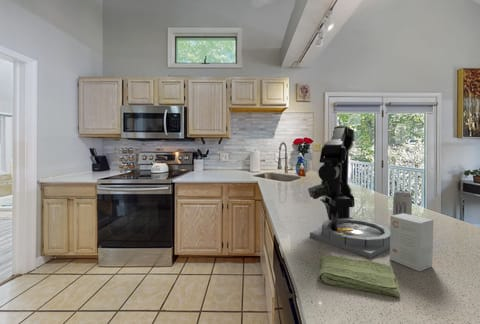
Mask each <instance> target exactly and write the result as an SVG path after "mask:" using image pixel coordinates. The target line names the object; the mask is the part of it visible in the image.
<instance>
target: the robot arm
mask: <svg viewBox="0 0 480 324" xmlns="http://www.w3.org/2000/svg"><path fill="white" fill-rule="evenodd" d="M355 138H356V135H355V131H354V129H352V128H350V127H349V126H348V125H336V126H334V129H333V131H332V136H331V138H330V140H328V141H326V142H325V143H324V145H323V146H322V147H321V152H320V157H319V163H323V164H322V166H320V167H319V169H318V172H317V174H318V177H319V178H320V180H321V181H320V182H321V183H320V184H316V185H314V186H311V187H309V188H307V191H308V194H309V197H310V198H312V199H313V200H316V199H317V200H318V199H319V198H321V199H320V201H321V202H322V203H323V204H324V206H325V210H326V214H327V218H328V220H331V213H338V219H341V218H346V219H347V218H349V219H354V218H353V217H351V215H350V214H351V211H350V210H351V208H354V207H355V196H354V194H353V193H352V187H350V184H349V156H350V154H349V153H350V150H351V149H352V147H353V145H354V142H355Z"/></svg>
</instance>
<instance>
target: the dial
mask: <svg viewBox="0 0 480 324" xmlns="http://www.w3.org/2000/svg"><path fill="white" fill-rule="evenodd" d="M330 229H332V230H333V231H335V232H339V233H344V234H345V235H350V236H358V237H378V236H380V235H382V233H381V232H380V231H379V230H377V229H375V228H373V227H370V226H366V225H361V224H354V223H339V224H338V213H331V227H330Z"/></svg>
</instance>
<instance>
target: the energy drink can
mask: <svg viewBox="0 0 480 324" xmlns="http://www.w3.org/2000/svg"><path fill="white" fill-rule="evenodd" d="M392 198H393V199H392V200H393V202H392V215H397V214H402V213H404V214H409V215H413V214H412V213H413V212H412V211H413V208H412V207H413V196H412V194H411V191H406V190H395V192H394V194H393V197H392Z"/></svg>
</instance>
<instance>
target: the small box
mask: <svg viewBox="0 0 480 324" xmlns="http://www.w3.org/2000/svg"><path fill="white" fill-rule="evenodd" d="M389 226H390V227H389V229H390V248H389V261H393V262H395V263H398V264H400V265H402V266H405V267H408V268H409V269H412V270H414V271H417V272H423V271H424V270H426V269H428V268H432V266H433V253H434V252H433V251H434V246H433V245H434V220H433V219H430V218H426V217H421V216H417V215H413V214H412V215H409V214H404V213H402V214H397V215H393V214H391V215H390V225H389Z"/></svg>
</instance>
